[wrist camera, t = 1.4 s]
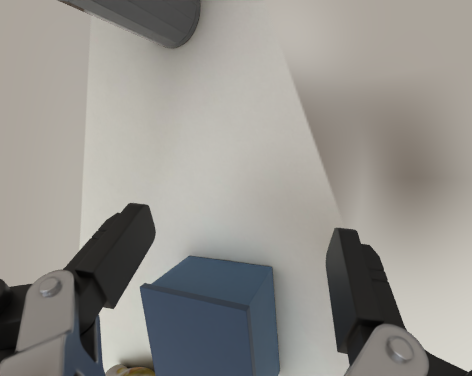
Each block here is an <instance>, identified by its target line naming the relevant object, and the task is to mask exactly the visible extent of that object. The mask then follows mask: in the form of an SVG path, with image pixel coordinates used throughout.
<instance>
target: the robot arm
mask: <svg viewBox="0 0 472 376" xmlns="http://www.w3.org/2000/svg"><path fill="white" fill-rule="evenodd" d="M155 233H156V231H155V226H154V222H153V218H152V215H151V211H150V208H149V206H148V205H145V204H137V203H129V204H128V205H127V206H126V207H125V208H124V210H123V211H122V212H121V213H116V214H115V215H113V216H112V217H110V218H109V219H107V220H106V221H105V222H104V223H103V225H102V226H101V227H100V228H99V230H98V231H96V233H95V234H94V235H93V236H92V239H89V241H88V242H87V243H86V244H85V245H84V246H83V247H82V249H81V250H80V251H79V252H78V253H77V254H76V255H75V257H74V258H73V259H72V260H71V261H70V262H69V264H68V265H67V266H66V267H65V268H64V269H63V270H56V271H53V272H50V273H48V274H46V275H44V276H42V277H41V278H39V279H38V280H37V281H36V282H34V283H33V284H27V285H20V286H14V287H8V285H7V284H6V283H5V282H4V281H3V280H1V279H0V376H106V375H105V372H104V369H103V363H102V349H101V333H100V318H99V315H98V314H99V312H100V311H101V309H102V308H103V307H105V308H111V309H114V308H115V306H116V304H117V303H118V301H119V299H120V297H121V296H122V294H123V292H124V291H125V289H126V287H127V286H128V284H129V282H130V281H131V279H132V277H133V275H134V274H135V272H136V270H137V269H138V267H139V265H140V264H141V262H142V260H143V259H144V257H145V255H146V253H147V252H148V250H149V248H150V247H151V245H152V243H153V241H154V239H155ZM326 271H327V278H328V286H329V293H330V300H331V307H332V315H333V322H334V329H335V337H336V344H337V351H338V352H340V353H345V354H348V358H349V364H350V366H349V368H348V369H347V371H346V373H345V374H344V376H472V370H471V371H469V372H467V371H465V370H463V369H461V368H459V367H457V366H454V365H452V364H450V363H448V362H446V361H444V360H442V359H440V358H437V357H436V356H434V355H432V354H430V353H429V352H427V351H426V350H424V348H423V347H422V345H421V344H420V343H419V341H418V340H417V339H416V338H415V337H414V336H413V335H412V334H410V333H409V332H407V330H406V328H405V326H404V324H403V321H402V318H401V315H400V313H399V310H398V307H397V305H396V301H395V299H394V296H393V294H392V290H391V288H390V285H389V282H387V277H386V274H385V272H384V268H383V265H382V263H381V260H380V257H379V256H378V254H377V253H376V252H375V251H374V250H373V248H372V247H371V246H370V245H365V244H361V243H360V239H359V236H358V233H357V231H356V230H353V229H344V228H335V229H334V232H333V235H332V238H331V241H330V244H329V247H328V251H327V254H326Z"/></svg>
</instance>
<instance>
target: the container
mask: <svg viewBox="0 0 472 376" xmlns="http://www.w3.org/2000/svg"><path fill="white" fill-rule="evenodd" d="M140 292H141V298H142V303H143V309H144V314H145V320H146V326H147V331H148V337H149V342H150V348H151V354H152V359H153V365H154V370H155V376H278V374H279V371H280V366H279V353H278V339H277V326H276V313H275V299H274V286H273V273H272V267H269V266H261V265H254V264H247V263H239V262H232V261H224V260H217V259H210V258H202V257H195V256H188V257H187V258H186V259H184V260H183V261H182V262H180V263H179V264H178V265H176V266H175V267H174V268H172V269H171V270H170V271H168V272H167V273H166V274H164V275H163V276H162V277H160V278H159V279H157V280H156V281H155V282H153V283H152V284H147V283H144V284H143V285H142V286H140Z"/></svg>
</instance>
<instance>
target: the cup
mask: <svg viewBox="0 0 472 376" xmlns="http://www.w3.org/2000/svg"><path fill="white" fill-rule="evenodd" d="M58 1H60V2H63V3H65V4H67V5H70V6H72V7H74V8H77V9H79V10H81V11H83V12H86V13H88V14H90V15H92V16H94V17H97V18H99V19H101V20H103V21H106V22H108V23H110V24H113V25H115V26H117V27H119V28H122V29H124V30H126V31H128V32H131V33H133V34H135V35H137V36H140V37H142V38H144V39H146V40H149V41H151V42H153V43H156V44H158V45H161V46H164V47H167V48H175V47H178V46H181V45H182V44H184V43H185V42H186V41H187V40H188V39H189V38H190V37H191V36H192V34H193V32H194V31H195V28H196V26H197V23H198V20H199V15H200V0H58Z"/></svg>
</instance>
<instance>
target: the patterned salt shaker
mask: <svg viewBox="0 0 472 376" xmlns="http://www.w3.org/2000/svg"><path fill="white" fill-rule="evenodd" d="M105 375H106V376H155V372H154V371H152V370H151V369H149V368H146V367H134V368H129V369H128V368H127V367H125V366H124V365H115V366H113V367H112V368H110V369H109V370H108V371H107V372H106V374H105Z"/></svg>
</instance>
